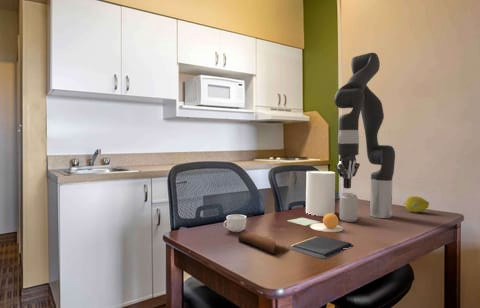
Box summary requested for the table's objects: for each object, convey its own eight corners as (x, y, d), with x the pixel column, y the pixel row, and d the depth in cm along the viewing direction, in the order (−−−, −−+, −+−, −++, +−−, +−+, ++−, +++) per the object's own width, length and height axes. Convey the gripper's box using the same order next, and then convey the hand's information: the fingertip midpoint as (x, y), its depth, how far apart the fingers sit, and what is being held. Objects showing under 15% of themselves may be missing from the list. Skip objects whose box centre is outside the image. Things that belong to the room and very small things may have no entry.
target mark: (323, 222, 140) (323, 221, 140) (350, 228, 130) (350, 228, 130) (303, 226, 132) (303, 226, 132) (330, 234, 122) (330, 233, 122)
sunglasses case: (293, 250, 103) (286, 234, 101) (279, 265, 100) (272, 249, 97) (256, 237, 117) (249, 222, 115) (243, 250, 114) (235, 235, 111)
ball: (344, 219, 129) (336, 232, 130) (334, 211, 134) (327, 224, 135) (334, 217, 126) (326, 230, 127) (324, 209, 131) (317, 221, 132)
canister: (312, 209, 168) (313, 170, 167) (338, 212, 160) (339, 172, 159) (301, 213, 157) (301, 172, 156) (328, 217, 149) (329, 174, 148)
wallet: (324, 256, 95) (283, 243, 106) (323, 262, 95) (283, 249, 106) (357, 242, 108) (318, 232, 120) (357, 248, 109) (318, 237, 120)
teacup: (237, 226, 131) (238, 213, 131) (250, 231, 125) (250, 217, 125) (217, 231, 125) (217, 217, 125) (229, 235, 119) (230, 220, 119)
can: (358, 223, 140) (359, 195, 139) (340, 222, 141) (340, 194, 141) (355, 219, 147) (356, 192, 146) (338, 218, 148) (339, 191, 148)
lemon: (401, 211, 164) (402, 195, 164) (407, 209, 169) (407, 194, 169) (425, 215, 156) (425, 198, 156) (430, 213, 161) (431, 197, 161)
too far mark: (302, 217, 148) (302, 217, 148) (320, 222, 140) (320, 221, 140) (287, 221, 142) (287, 220, 142) (304, 225, 134) (304, 225, 134)
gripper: (349, 142, 130) (348, 185, 131) (329, 142, 122) (328, 188, 122) (367, 142, 124) (365, 188, 125) (346, 142, 116) (345, 191, 117)
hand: (347, 188), depth 124 cm, fingers closed
